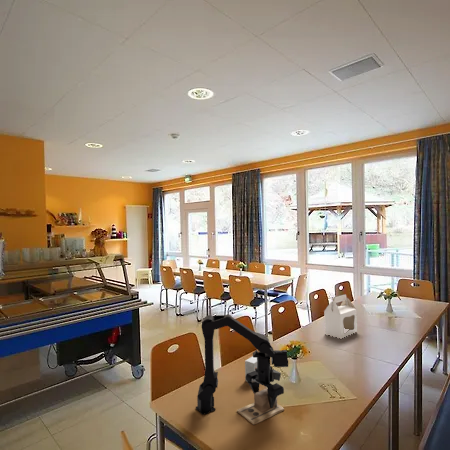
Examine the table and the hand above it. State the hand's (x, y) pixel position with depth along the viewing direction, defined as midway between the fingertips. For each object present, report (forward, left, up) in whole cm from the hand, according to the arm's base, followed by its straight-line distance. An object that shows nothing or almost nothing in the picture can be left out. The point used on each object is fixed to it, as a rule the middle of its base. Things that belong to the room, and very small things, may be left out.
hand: (264, 403), depth 133 cm
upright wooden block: (0, 0, -2) cm, 2 cm away
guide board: (-2, 0, -3) cm, 3 cm away
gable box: (+110, +39, -3) cm, 117 cm away
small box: (+13, +23, -3) cm, 27 cm away
